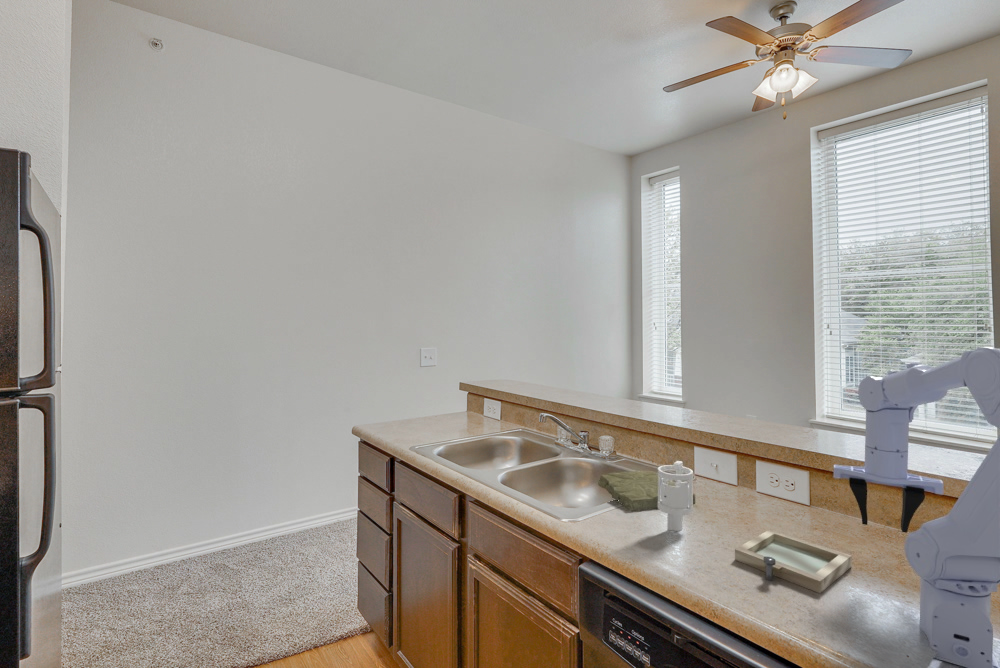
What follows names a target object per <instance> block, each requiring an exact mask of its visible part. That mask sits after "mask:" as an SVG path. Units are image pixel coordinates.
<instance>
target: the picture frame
mask: <svg viewBox="0 0 1000 668" xmlns="http://www.w3.org/2000/svg"><path fill="white" fill-rule="evenodd" d="M764 557H772V558H774V559H775V560H776V564H775V565H773V576H775V577H778V578H780V579H782V580H785V581H787V582H790V583H792V584H795V585H798V586H800V587H803V588H806V589H808V590H810V591H813V592H816V593H818V594H821V593H822V592H824V591H825V590H826V589H827V588H828V587H829V586H831V585H832V584H833V583H834V582H835V581H836V580H838V579H839V578H840V577H842V575H844V573H846V572H847V571H848V570H849V569H851V568H852V562H853V560H852V558H853V556H852V555H851V554H848V553H844V552H841V551H839V550H836V549H833V548H830V547H826V546H823V545H820V544H817V543H814V542H812V541H811V542H810V541H809V540H808V541H807V540H804V539H802V538H800V537H796V536H793V535H789V534H787V533H784V532H780V531H777V530H774V529H771V528H769V529H768V530H765V532H762V533H760V534H759V535H757V536H755V537H753V538H752V539H750V540H749V541H747V542H745V543H743V544H741V545H739V546H738V547H736V548H734V560H735V561H738V562H740V563H741V564H744V565H747V566H750V567H752V568H755V569H757V570H760V571H762V572H764V573H766V563H764V561H763V560H764Z"/></svg>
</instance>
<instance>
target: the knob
mask: <svg viewBox="0 0 1000 668" xmlns="http://www.w3.org/2000/svg"><path fill="white" fill-rule="evenodd" d="M763 561H764V563H766V572H765V580H766V581H768V582H773V578H774V577H773V576H774V575H773V565H775V564H776V560H775V559H774V558H772V557H764V560H763Z"/></svg>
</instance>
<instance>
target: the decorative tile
mask: <svg viewBox="0 0 1000 668" xmlns="http://www.w3.org/2000/svg"><path fill="white" fill-rule="evenodd" d="M597 484H598V486H599V487H601V488H602V489H605V490H606V491H607V492H608V494H610V495H611V498H613V500H614V501H616V500H619V501H617V503H619V502H620V504H621V503H622V504H621V505H622V506H624V507H625V508H626V509H628V510H629V511H631V512H636V511H644V510H653V509H658V472H655V471H653V470H629V471H620V472H610V473H606V474H602V475H600V478H599V479H598V481H597ZM668 485H670V486H675V481H668ZM694 504H696V494H695V493H694V492H693V505H694Z"/></svg>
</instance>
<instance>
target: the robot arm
mask: <svg viewBox="0 0 1000 668" xmlns="http://www.w3.org/2000/svg"><path fill="white" fill-rule="evenodd" d="M963 387H967V388H968V390H969V392H970V395H971V396H972V397H973V399H974V401H975V403H976V405H977V406H978V408H979V410H980V412H981V413H982V415H983V416H984V418H985V420H986V421H987V423H988V424H989V425H992V426H994V427H996V428H997V429H998V430H999V429H1000V348H996V347H990V346H984V347H983V346H982V347H978V348H976V349H974V350H965V351H963V352H962V355H961V356H959V357H956V358H954V359H952V360H949V361H947V362H945V363H942V364H940V365H937V366H935V367H933V366H930V365H926V364H923V363H922V362H910V363H908V364H906V369H903V370H899V371H897V370H895V371H894V370H892V371H889V372H888V373H887V375H885V376H879V377H876V376H874V375H867V376H866V377H864V378H863V379H862V380H861V381H860V383H859V386H858V391H857V394H858V400H859V403H860V405H861V406H862V408H864V410H865V436H864V437H865V440H864V441H865V443H864V444H865V445H864V449H865V450H864V466H854V465H853V466H852V465H842V464H841V465H840V464H833V476H832V477H833V479H839V480H840V479H847V480H848V482H849V483H848V484H849V485H848V486H849V488H850V489H851V491H852V493H853V494H852V495H853V496H854V498H855V500H856V502H857V505H858V508H859V511H860V516H861V524H862V525H865V526H868V508H867V502H868V484H867V483H870V484H871V483H873V484H878V485H879V484H880V485H885V486H891V487H897V488H902V509H901V516H900V517H901V518H900V529H901V532H902V533H908V531H909V526H910V524H911V520H912V518H913V516H914V515H915V513H916V512H917V509H918V508H919V507H920V506H921V505H922V504H923V503H924V501H925V499H926V494H925V492H930V493H934V494H936V495H941V496H943V495H944V487H945V486H944V482H943V480H942V479H940V478H933V477H932V478H931V477H928V476H923V475H919V474H918V475H917V474H913V473H910V472H909V473H908V468H909V466H908V465H909V431H910V430H909V428H910V427H909V426H910V424H911V423H912V422H913V420H914V415H915V414H914V413H915V411H916V409H917V408H918V406H921V405H922V406H923V405H926V404H929V403H934V402H938V401H940V400H942V399H944V398H945V396H946V395H947V394H948V391H949V390H954V389H958V388H963ZM903 546H904V553H905V558H906V560H907V562H908V565H909V566H910V567H911V569H912V570H913V571H914V573H915V574H917V576H918V577H919V578H920V583H919V584H920V589H919V590H920V594H919V596H920V597H919V627H920V630H921V631H922V632H923V633H924V634H925V636H926V637H927V639H928V643H929V646H930V648H931V650H934V651H936V653H935V654H934V656H933V659H937V660H940V661H943V662H947V663H951V664H952V665H953V664H954V665H957V666H960V667H964V668H1000V664H999V662H998V660H997V657H996V656H995V653H994V627H993V623H992V621H991V605H992V604H991V603H992V593H995V592H996V593H998V585H1000V435H999V436H998V437H997V439H996V440H995V442H994V443H993V445H992V447H991V448H990V450H989V451H988V453H987V455H986V456H985V457H984V458H983V459H982V462H981V464H980V465H979V467H978V468H977V469H976V471H975V473H974V474H973V476H972V477H971V479H970V480H969V481H968V483H967V485H966V486H965V487H964V490H963V491H962V493H960V495H959V497H958V499H957V500H956V501H955V504H954V505H953V507H952V508H951V509H950V511H949V513H948V514H946V515H944V516H941V517H939V518H936V519H932V520H929V521H927V522H924V523H922V524H921V526H920V527H919V529H917V530H914V531H911V532H909V534H908V535H907V536H906V539H905V541H904V545H903Z"/></svg>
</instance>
